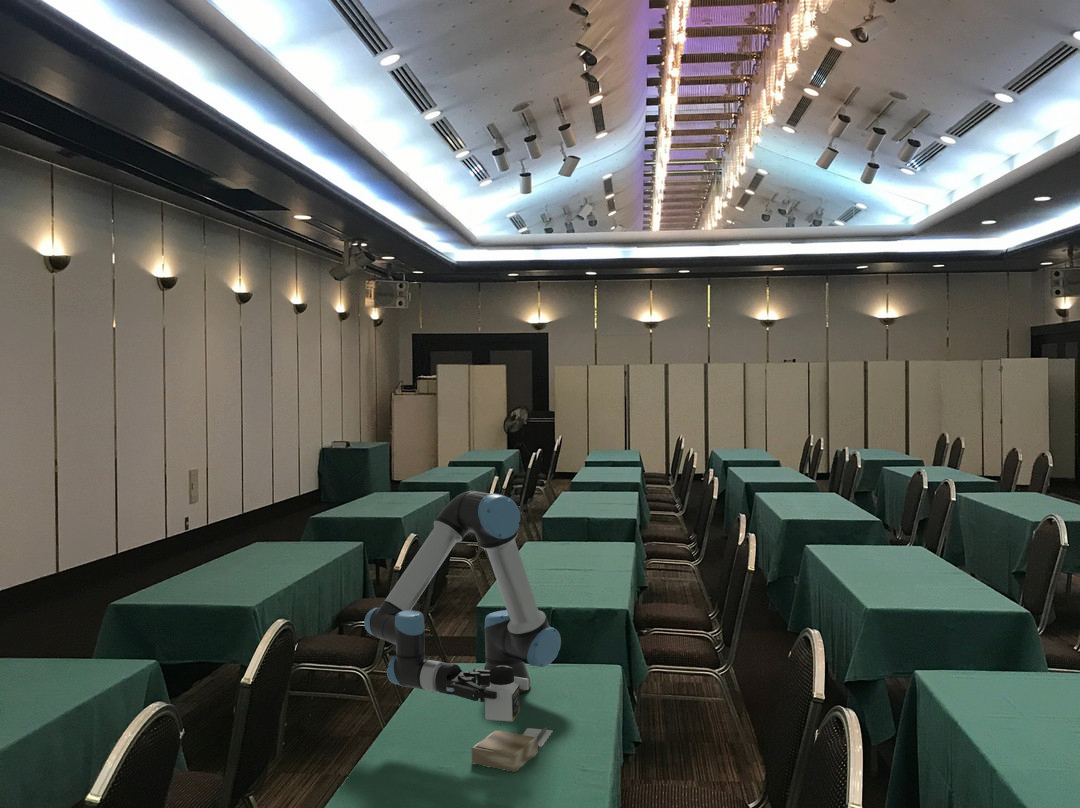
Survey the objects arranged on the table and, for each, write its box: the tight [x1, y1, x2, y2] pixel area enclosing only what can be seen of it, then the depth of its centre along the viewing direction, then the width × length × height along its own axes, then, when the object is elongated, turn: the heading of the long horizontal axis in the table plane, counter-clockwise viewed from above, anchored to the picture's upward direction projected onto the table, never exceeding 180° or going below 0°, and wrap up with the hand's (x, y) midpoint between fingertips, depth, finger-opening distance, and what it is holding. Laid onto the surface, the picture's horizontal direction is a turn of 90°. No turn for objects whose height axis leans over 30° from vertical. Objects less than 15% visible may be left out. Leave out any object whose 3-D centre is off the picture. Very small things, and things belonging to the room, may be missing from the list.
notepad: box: [522, 726, 554, 748], centre depth 239 cm, size 10×7×2 cm
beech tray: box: [471, 729, 539, 773], centre depth 227 cm, size 12×12×4 cm
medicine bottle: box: [484, 666, 521, 722], centre depth 226 cm, size 7×7×12 cm
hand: (518, 690), depth 224 cm, fingers closed on medicine bottle, 8 cm apart
